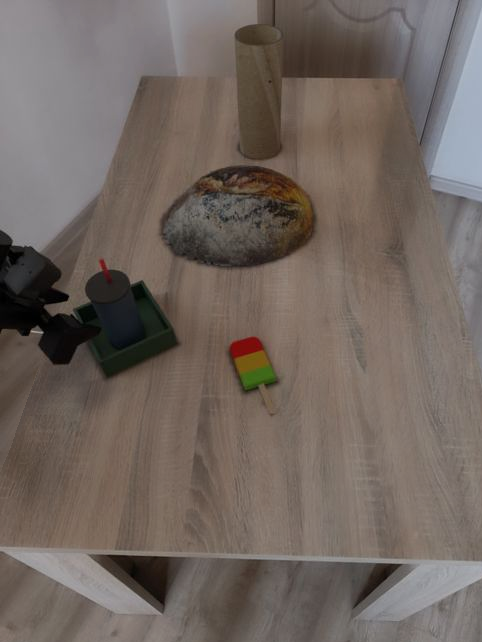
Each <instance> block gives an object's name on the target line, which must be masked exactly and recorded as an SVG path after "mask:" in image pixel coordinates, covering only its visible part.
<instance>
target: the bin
mask: <svg viewBox="0 0 482 642" xmlns="http://www.w3.org/2000/svg"><path fill="white" fill-rule="evenodd" d="M130 288H131V291H132V293H133V296H134V299H135V302H136V305H137V308H138V311H139V314H140V316H141V319H142V322H143V325H144V328H145V331H146V337H145V339H144V340H142V341H140V342H138V343H135V344H133V345H131V346H129V347H127V348H124V349H122V350H117V349H115V348H114V347H113V346H112V345H111V343H110V341H109V339H108V337H107V335H106V332H105V330H104V328H103V326H102V324H101V322H100V320H99V317H98V315H97V313H96V311H95V309H94V307H93V305H92V302H91V301H89V302H86V303H84V304H81V305H79V306H77V307H74V308H72V311H73V313H74V316H75V318H76V319H77V320H78V321H79V322H80V323H83V324H89V325H94V326H98V327H101V328H102V330H101V332H100V334H98V335H97V336H95V337H93V338H91V339H90V340H88V341H87V342H88V343H89V346H90V349H91V350H92V352H93V354H94V356H95V358H96V360H97V362H98V364H99V366H100V368H101V369H102V372H103V373H104V375H105V377H106V378H109V377H111V376H113V375H116V374H117V373H119V372H122V371H124V370H126V369H128V368H130V367H133V366H134V365H136V364H139V363H141V362H143V361H145V360H147V359H150V358H151V357H153V356H155V355H158V354H160V353H162V352H164V351H166V350H169V349H170V348H172V347H174V346H176V345H178V341H177V336H176V333H175V330H174V328H173V326H172V324H171V323H170V321H169V319H168V318H167V316H166V315H165V313H164V312H163V310H162V308H161V307H160V305H159V303H158V302H157V300H156V299H155V296H154V295H153V294H152V292H151V291H150V289H149V288H148V286H147V284H146V283H145V281H144V279H141V280H139V281H136V282H134V283H130Z"/></svg>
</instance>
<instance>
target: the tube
mask: <svg viewBox="0 0 482 642" xmlns="http://www.w3.org/2000/svg"><path fill="white" fill-rule="evenodd" d="M234 53H235V71H236V72H235V73H236V76H235V77H236V94H237V116H238V117H237V118H238V137H239V140H238V141H239V150H240V152H241V153H242V154H243V156H245V157H248V158H250V159H256V160H265V159H269V158H271V157H274V156H275V155H277V154H278V153H279V151H280V149H281V129H282V127H281V124H282V93H283V89H282V88H283V56H284V33H283V31H282V30H281V29H280V28H279V27H276V26H274V25H270V24H265V23H264V24H263V23H255V24H248V25H244V26H242V27H239V28H238V29H237V30H236V31H235V33H234Z"/></svg>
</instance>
